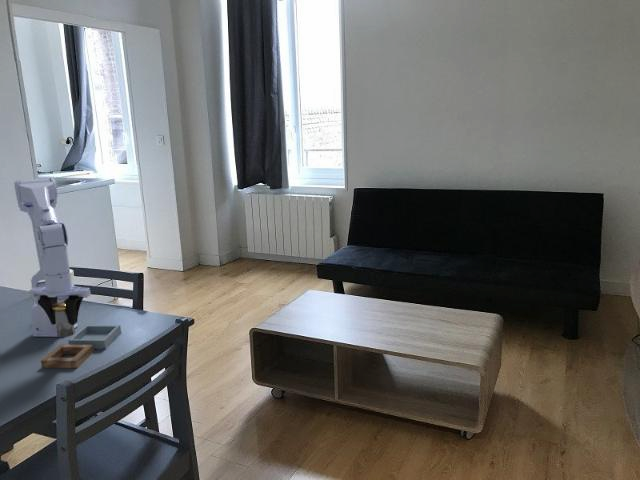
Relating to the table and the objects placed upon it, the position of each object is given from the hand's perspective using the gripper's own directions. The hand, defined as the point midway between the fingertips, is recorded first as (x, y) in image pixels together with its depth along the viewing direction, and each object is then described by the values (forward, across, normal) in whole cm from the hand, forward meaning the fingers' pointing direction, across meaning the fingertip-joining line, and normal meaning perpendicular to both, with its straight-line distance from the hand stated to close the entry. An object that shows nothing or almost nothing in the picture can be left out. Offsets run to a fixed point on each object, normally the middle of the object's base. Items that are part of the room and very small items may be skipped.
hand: (64, 323), depth 134 cm
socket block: (+10, 0, 0) cm, 10 cm away
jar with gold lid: (+3, 0, 0) cm, 3 cm away
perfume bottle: (+10, -18, +34) cm, 40 cm away
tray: (+10, +2, +10) cm, 15 cm away
